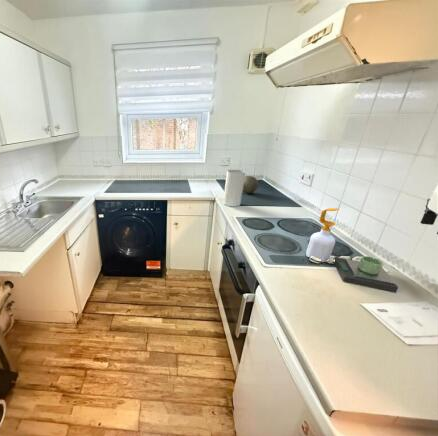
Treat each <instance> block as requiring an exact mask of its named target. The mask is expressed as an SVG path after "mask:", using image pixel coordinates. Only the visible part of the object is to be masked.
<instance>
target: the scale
mask: <svg viewBox="0 0 438 436" xmlns="http://www.w3.org/2000/svg"><path fill="white" fill-rule="evenodd" d="M334 259H335V263H334V262H333V264H334V266H335V268H336V271H337V273H338V275H339V276H340V279H341V280H342V282H343V283H348V284H352V285H357V286H360V287H361V286H362V287H366V288H371V289H376V290H381V291H386V292H389V293H395V294H396V293H397V292H398V289H399V286H398V285H397V284H396V282H395V281H394V280H393V279H392V278H391V276H390V275H389V273H387V271H386V270H385V269H384V267H382V268H381V271H380V273H379V274H369V273H366V272H364V271H362V270H361V269H360V268H359V267H358V265H359V263H360V261H361V260H360V261H359V260H356V259H355V260H354V259H349V258H343V257H338V256H334V257H333V260H334Z"/></svg>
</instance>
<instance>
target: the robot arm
mask: <svg viewBox="0 0 438 436" xmlns="http://www.w3.org/2000/svg"><path fill="white" fill-rule="evenodd" d="M437 218H438V184H437V185H436V187H435V188H434V190H433V192H432V194H431V195H430V197H429V198H427V200H426V205H425V209H424V213H423V215H422V218H421V220H420V224H421V225H430V226H433V225H434V224H435V222H436V220H437ZM436 235H438V231H437V232H436Z"/></svg>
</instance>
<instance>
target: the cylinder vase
mask: <svg viewBox="0 0 438 436" xmlns="http://www.w3.org/2000/svg"><path fill="white" fill-rule="evenodd" d="M245 177H246V171H245V170H242V169H227V170H226V177H225V185H224V192H223V199H222V204H223V205H224V206H227V207H233V208H234V207H239V206H241V203H242V198H243V185H244V178H245Z"/></svg>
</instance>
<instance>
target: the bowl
mask: <svg viewBox="0 0 438 436" xmlns="http://www.w3.org/2000/svg"><path fill="white" fill-rule="evenodd" d="M384 265H385V264H384V262H383V261H382V260H380V259H378V258H376V257H373V256H369V255H368V256H367V255H364V256H361V258H360V263H359V265H358V267H359V268H360V269H361V270H362V271H364V272H366V273H369V274H379V273H380V271H381V268H383V267H384Z"/></svg>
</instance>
